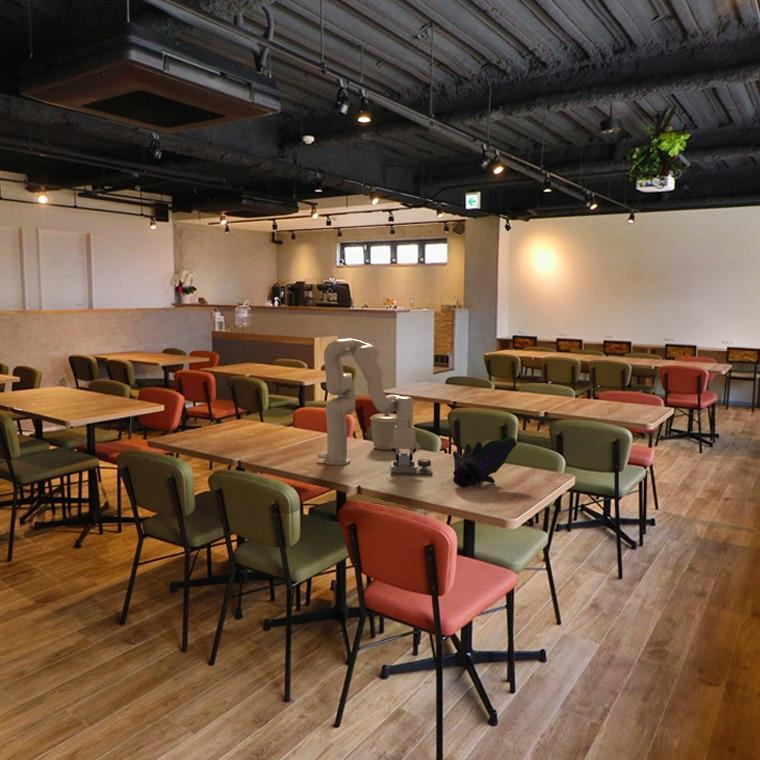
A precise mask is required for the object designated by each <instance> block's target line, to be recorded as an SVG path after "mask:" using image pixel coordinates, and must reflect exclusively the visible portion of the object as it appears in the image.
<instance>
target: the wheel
mask: <svg viewBox="0 0 760 760" xmlns="http://www.w3.org/2000/svg"><path fill="white" fill-rule="evenodd" d="M417 466H422V467H428V466H431V467H432V460H431V459H426V458H424V459H418V460H417Z"/></svg>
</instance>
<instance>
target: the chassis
mask: <svg viewBox="0 0 760 760" xmlns="http://www.w3.org/2000/svg"><path fill="white" fill-rule="evenodd" d="M419 475H420V476H421V475H422V477H423V476H425V475H426V476H427V477H428V476H429V477H431V476H432V477H433V476H434V474H433V469H432V465H431V466H428V467H422V466H418V464H417V461H415V460H413V461H411V463H410V467H408V466H399V463H397V461H396V460H391V461H390V476H419ZM426 476H425V477H426Z"/></svg>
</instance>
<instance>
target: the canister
mask: <svg viewBox="0 0 760 760" xmlns="http://www.w3.org/2000/svg"><path fill="white" fill-rule="evenodd" d="M396 417H397V413H396V414H395V413H391V412H388V413H376V414H373V415H372V416H370V417H369V420H370V423H371V436H372V443H373V446H374V448H375V449H377V450H379V449H380V450H381V451H392V450H391V449H390V448H389V447H388V446H389V444H390V443H391V442H392V441H393V436H394V428H395V426H396V424H393V421H396ZM392 447H393V448H394V446H393V445H392ZM395 449H396V448H395Z"/></svg>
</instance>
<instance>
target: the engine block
mask: <svg viewBox="0 0 760 760" xmlns="http://www.w3.org/2000/svg"><path fill="white" fill-rule="evenodd" d="M398 453H399V466H408V467H410V455H409V454H410V452H408V451H400V452H398Z"/></svg>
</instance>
